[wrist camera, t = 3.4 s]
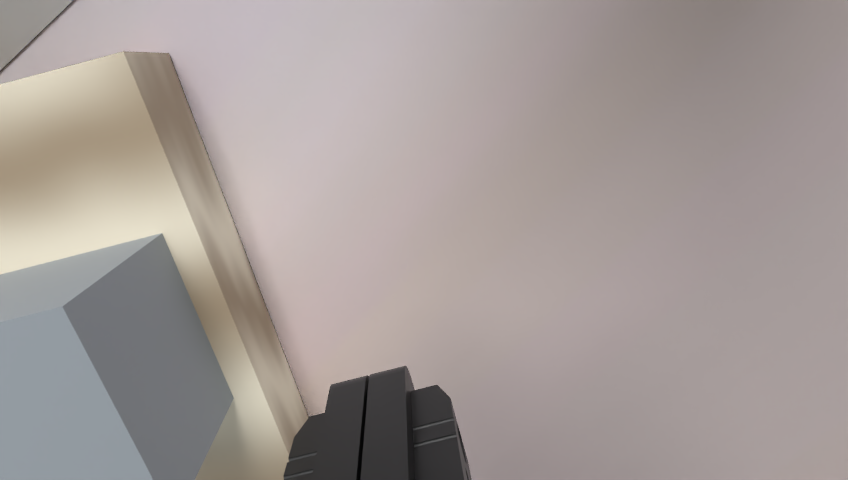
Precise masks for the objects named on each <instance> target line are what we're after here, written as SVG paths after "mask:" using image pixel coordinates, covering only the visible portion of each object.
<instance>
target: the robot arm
mask: <svg viewBox="0 0 848 480" xmlns="http://www.w3.org/2000/svg"><path fill="white" fill-rule="evenodd" d="M288 459H289V462H287V465H286V468H285V472H284V475H283V477H284V480H471V475H470V470H469V465H468V460H467V457H466V453H465V449H464V446H463V442H462V439H461V435H460V431H459V428H458V424H457V420H456V417H455V413H454V410H453V406H452V402H451V399H450V397H449V396H448V395H447V394H446V393H445V392H444V391H443V390H442V389H441V388H440V387H439V386H438V385H434V386H430V387H426V388H422V389H418V390H414V386H413V383H412V380H411V376H410V373H409V371H408V368H407V367H406V366H403V367H399V368H395V369H391V370H387V371H383V372H379V373H375V374H371V375H370V376H364V377H360V378H356V379H352V380H348V381H344V382H340V383H336V384H332V385H331V386H330V390H329V395H328V400H327V405H326V410H325V413H322V414H318V415H314V416H310V417H309V418H308V419H307V421H306V422H305V423H304V425H303V426H302V427H301V429H300V430H299V431H298V433H297V434H296V435H295V437H294V439H293V443H292V446H291V450H290V454H289V457H288Z"/></svg>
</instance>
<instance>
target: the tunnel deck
mask: <svg viewBox="0 0 848 480" xmlns="http://www.w3.org/2000/svg"><path fill="white" fill-rule="evenodd" d="M160 233H162V234H163V236H164V238H165V241H166V243H167V245H168V247H169V250H170V252H171V254H172V257H173V259H174V261H175V264H176V266H177V268H178V271H179V273H180V275H181V277H182V280H183V282H184V284H185V287H186V289H187V291H188V294H189V296H190V298H191V300H192V303H193V305H194V307H195V310H196V312H197V314H198V317H199V319H200V321H201V324H202V326H203V328H204V330H205V333H206V335H207V337H208V340H209V342H210V344H211V347H212V349H213V351H214V353H215V356H216V358H217V360H218V363H219V365H220V367H221V370H222V372H223V374H224V377H225V379H226V381H227V383H228V386H229V388H230V390H231V393H232V395H233V397H234V399H233V401H232V403H231V405H230V407H229V409H228V412H227V414H226V416H225V418H224V420H223V422H222V424H221V426H220V428H219V430H218V432H217V435H216V437H215V439H214V441H213V443H212V445H211V447H210V449H209V451H208V453H207V455H206V458H205V460H204V462H203V464H202V466H201V468H200V470H199V472H198V474H197V476H196V478H195V480H284V477H283V475H284V472H285V468H286V465H287V462H289V459H288V457H289V454H290V450H291V446H292V443H293V439H294V437H295V435H296V434H297V433H298V431H299V430H300V429H301V427H302V426H303V425H304V423H305V422H306V421H307V419H308V418H309V417H308V415H307V412H306V409H305V407H304V404H303V402H302V399H301V396H300V394H299V391H298V389H297V386H296V383H295V381H294V378H293V376H292V373H291V370H290V368H289V365H288V363H287V360H286V357H285V355H284V352H283V350H282V347H281V344H280V342H279V339H278V337H277V334H276V331H275V329H274V326H273V324H272V321H271V318H270V316H269V313H268V311H267V308H266V305H265V303H264V300H263V297H262V295H261V292H260V290H259V287H258V284H257V282H256V279H255V277H254V274H253V271H252V269H251V266H250V264H249V261H248V258H247V256H246V253H245V251H244V248H243V245H242V243H241V240H240V238H239V235H238V232H237V230H236V227H235V225H234V222H233V219H232V217H231V214H230V212H229V209H228V206H227V204H226V201H225V199H224V196H223V193H222V191H221V188H220V186H219V183H218V180H217V178H216V175H215V173H214V170H213V167H212V165H211V162H210V159H209V157H208V154H207V152H206V149H205V146H204V144H203V141H202V139H201V136H200V133H199V131H198V128H197V126H196V123H195V120H194V118H193V115H192V113H191V110H190V107H189V105H188V102H187V100H186V97H185V94H184V92H183V89H182V87H181V84H180V81H179V79H178V76H177V74H176V71H175V68H174V66H173V63H172V61H171V58H170V55H169V53H149V52H124V51H123V52H119V53H116V54H112V55H108V56H104V57H101V58H97V59H93V60H89V61H86V62H82V63H78V64H74V65H71V66H67V67H63V68H59V69H56V70H52V71H48V72H44V73H41V74H37V75H33V76H29V77H26V78H22V79H18V80H14V81H11V82H7V83H3V84H0V274H4V273H8V272H12V271H16V270H20V269H24V268H28V267H32V266H35V265H39V264H43V263H47V262H51V261H55V260H59V259H63V258H67V257H71V256H74V255H78V254H82V253H86V252H90V251H94V250H98V249H102V248H106V247H110V246H114V245H117V244H121V243H125V242H129V241H133V240H137V239H141V238H145V237H149V236H153V235H156V234H160Z"/></svg>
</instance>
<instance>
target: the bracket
mask: <svg viewBox="0 0 848 480" xmlns="http://www.w3.org/2000/svg"><path fill="white" fill-rule="evenodd" d="M72 1H73V0H0V70H1V69H2V68H3V67H4V66H5V65H6V64H8V63H9V62H10V61H11V60H12V59H13V58H14V57H15V56H16V55H17V54H18V53H19V52H20V51H21V50H22V49H23V48H24V47H25V46H26V45H27V44H28V43H29V42H30V41H31V40H33V39H34V38H35V37H36V36H37V35H38V34H39V33H40V32H41V31H42V30H43V29H44V28H45V27H46V26H47V25H48V24H49V23H50V22H51V21H52V20H53V19H54V18H55V17H57V16H58V15H59V14H60V13H61V12H62V11H63V10H64V9H65V8H66V7H67V6H68V5H69V4H70V3H71V2H72Z"/></svg>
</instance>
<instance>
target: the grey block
mask: <svg viewBox="0 0 848 480" xmlns="http://www.w3.org/2000/svg"><path fill="white" fill-rule="evenodd" d="M233 399H234V397H233V395H232V393H231V390H230V388H229V386H228V383H227V381H226V379H225V377H224V374H223V372H222V370H221V367H220V365H219V363H218V360H217V358H216V356H215V353H214V351H213V349H212V347H211V344H210V342H209V340H208V337H207V335H206V333H205V330H204V328H203V326H202V324H201V321H200V319H199V317H198V314H197V312H196V310H195V307H194V305H193V303H192V300H191V298H190V296H189V294H188V291H187V289H186V287H185V284H184V282H183V280H182V277H181V275H180V273H179V271H178V268H177V266H176V264H175V261H174V259H173V257H172V254H171V252H170V250H169V247H168V245H167V243H166V241H165V238H164V236H163V234H162V233H160V234H156V235H153V236H149V237H145V238H141V239H137V240H133V241H129V242H125V243H121V244H117V245H114V246H110V247H106V248H102V249H98V250H94V251H90V252H86V253H82V254H78V255H74V256H71V257H67V258H63V259H59V260H55V261H51V262H47V263H43V264H39V265H35V266H32V267H28V268H24V269H20V270H16V271H12V272H8V273H4V274H0V480H195V478H196V476H197V474H198V472H199V470H200V468H201V466H202V464H203V462H204V460H205V458H206V455H207V453H208V451H209V449H210V447H211V445H212V443H213V441H214V439H215V437H216V435H217V432H218V430H219V428H220V426H221V424H222V422H223V420H224V418H225V416H226V414H227V412H228V409H229V407H230V405H231V403H232V401H233Z"/></svg>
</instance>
